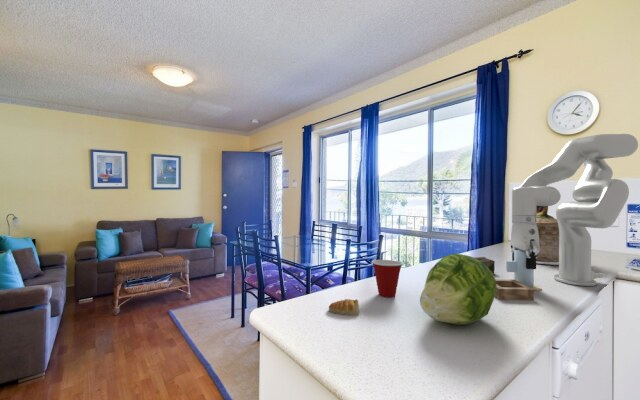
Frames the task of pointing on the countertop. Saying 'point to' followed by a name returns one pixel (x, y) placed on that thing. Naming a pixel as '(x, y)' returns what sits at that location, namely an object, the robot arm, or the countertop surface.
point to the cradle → (513, 290)
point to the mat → (536, 288)
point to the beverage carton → (487, 263)
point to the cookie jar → (547, 237)
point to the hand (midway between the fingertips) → (523, 265)
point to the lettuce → (458, 290)
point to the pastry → (345, 307)
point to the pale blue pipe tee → (521, 268)
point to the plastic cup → (387, 276)
